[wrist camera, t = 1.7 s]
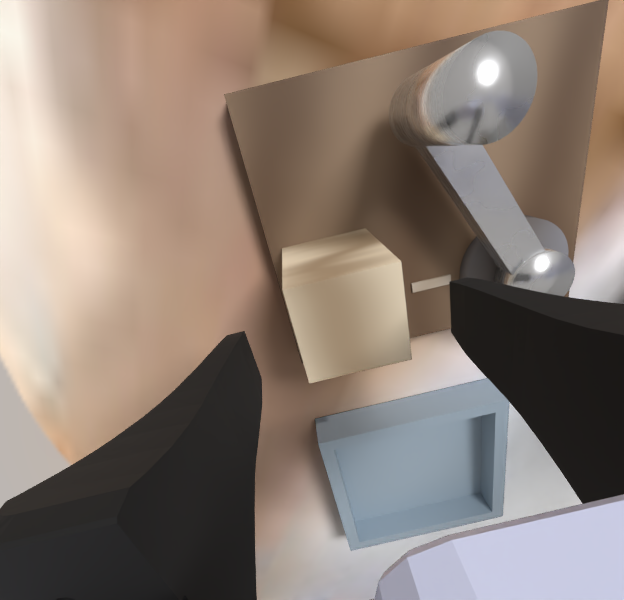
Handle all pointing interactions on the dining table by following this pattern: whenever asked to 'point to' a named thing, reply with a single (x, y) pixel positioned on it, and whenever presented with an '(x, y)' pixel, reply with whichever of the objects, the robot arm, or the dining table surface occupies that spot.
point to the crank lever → (480, 148)
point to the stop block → (346, 304)
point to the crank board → (418, 158)
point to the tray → (417, 462)
